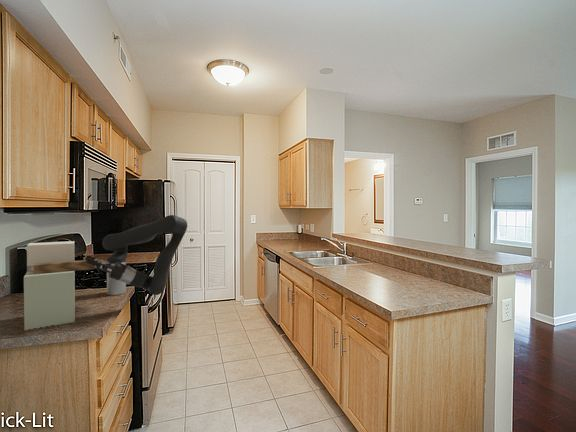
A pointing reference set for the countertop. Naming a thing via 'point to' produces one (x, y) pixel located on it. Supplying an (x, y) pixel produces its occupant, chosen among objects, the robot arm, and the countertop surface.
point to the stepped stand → (49, 287)
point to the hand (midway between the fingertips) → (86, 258)
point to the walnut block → (58, 267)
